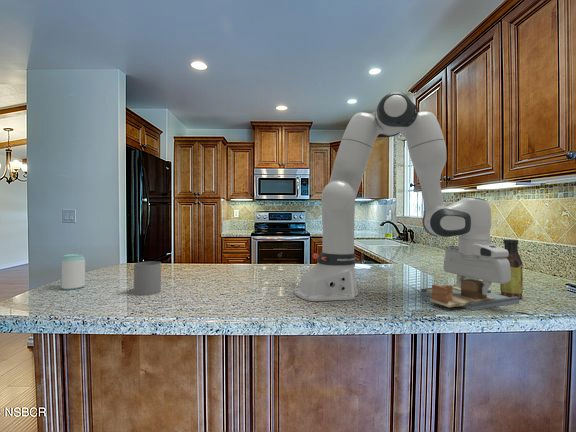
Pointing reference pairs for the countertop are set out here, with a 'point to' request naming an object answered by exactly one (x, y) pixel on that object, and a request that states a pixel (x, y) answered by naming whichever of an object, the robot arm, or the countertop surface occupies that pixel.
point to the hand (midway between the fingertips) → (473, 291)
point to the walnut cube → (472, 289)
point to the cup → (147, 278)
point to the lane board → (483, 304)
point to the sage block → (464, 279)
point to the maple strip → (451, 297)
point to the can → (72, 271)
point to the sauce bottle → (513, 271)
